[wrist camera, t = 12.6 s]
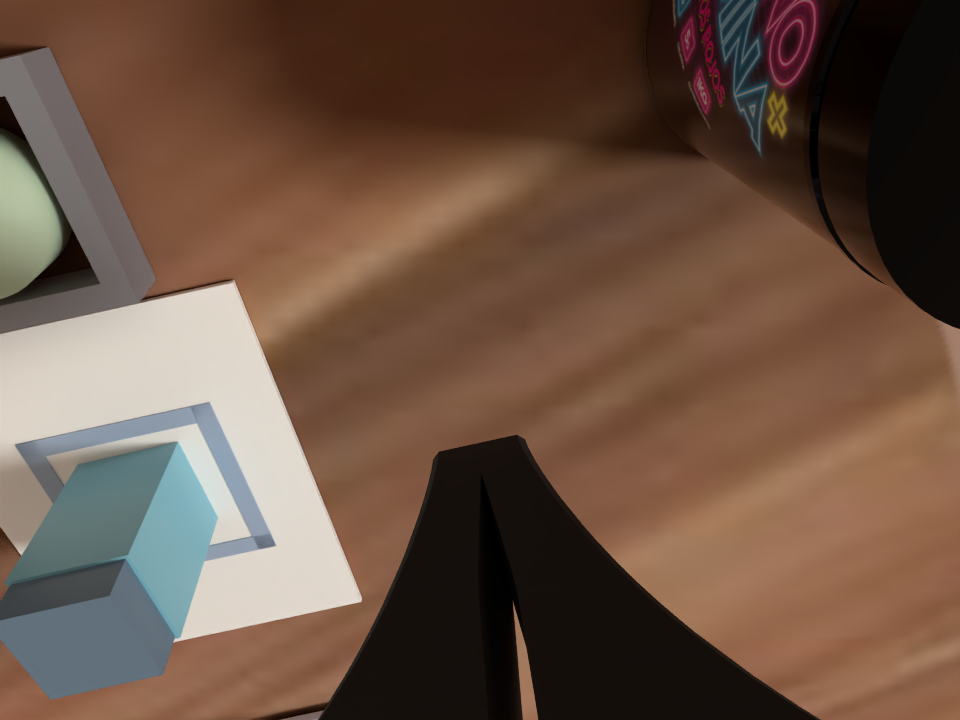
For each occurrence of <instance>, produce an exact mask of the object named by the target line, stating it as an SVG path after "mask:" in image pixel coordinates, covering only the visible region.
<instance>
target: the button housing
mask: <svg viewBox="0 0 960 720" xmlns="http://www.w3.org/2000/svg"><path fill="white" fill-rule="evenodd" d="M3 96H5V97H6V99H7V101H8V103H9V105H10V107H11V109H12V111H13V113H14V115H15V117H16V119H17V121H18V123H19V125H20V126H21V128H22V130H23V132H24V134H25V136H26V138H27V140H28V142H29V144H30V146H31V148H32V150H33V152H34V154H35V156H36V158H37V160H38V162H39V164H40V166H41V168H42V170H43V172H44V174H45V176H46V178H47V180H48V182H49V184H50V186H51V188H52V190H53V191H54V193H55V195H56V197H57V199H58V201H59V203H60V205H61V207H62V209H63V211H64V213H65V215H66V217H67V219H68V221H69V223H70V225H71V227H72V229H73V231H74V233H75V235H76V237H77V239H78V241H79V243H80V245H81V247H82V249H83V251H84V253H85V255H86V256H87V258H88V260H89V262H90V264H91V266H92V268H88V269H83V270H79V271H74V272H70V273H65V274H61V275H56V276H52V277H47V278H43V279H38V280H34V281H32V282H30V283H29V284H28V285H27V286H26V287H25V288H23V289H22V290H20V291H19V292H17V293H15V294H13V295H10V296H8V297H5V298H2V299H0V333H4V332H8V331H13V330H17V329H22V328H26V327H31V326H35V325H40V324H44V323H49V322H53V321H58V320H62V319H67V318H72V317H76V316H81V315H85V314H90V313H94V312H99V311H103V310H108V309H112V308H117V307H121V306H126V305H130V304H135V303H139V302H140V301H141V300H142V298H143V297H144V295H145V294H146V293H147V291H148V290H149V289H150V287H151V286H152V284H153V283H154V282H155V280H156V277H155V275H154V273H153V271H152V269H151V267H150V264H149V262H148V260H147V258H146V256H145V254H144V252H143V249H142V247H141V245H140V243H139V241H138V239H137V236H136V234H135V232H134V230H133V228H132V226H131V223H130V221H129V219H128V217H127V215H126V213H125V210H124V208H123V206H122V204H121V202H120V200H119V197H118V195H117V193H116V191H115V189H114V187H113V184H112V182H111V180H110V178H109V176H108V174H107V172H106V169H105V167H104V165H103V163H102V161H101V159H100V156H99V154H98V152H97V150H96V148H95V146H94V143H93V141H92V139H91V137H90V135H89V133H88V130H87V128H86V126H85V124H84V122H83V120H82V117H81V115H80V113H79V111H78V109H77V107H76V104H75V102H74V100H73V98H72V96H71V94H70V92H69V89H68V87H67V85H66V83H65V81H64V79H63V76H62V74H61V72H60V70H59V68H58V66H57V63H56V61H55V59H54V57H53V55H52V53H51V50H50V48H49V47H46V48H41V49H37V50H32V51H28V52H24V53H19V54H15V55H10V56H6V57H1V58H0V97H3Z"/></svg>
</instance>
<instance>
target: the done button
mask: <svg viewBox="0 0 960 720" xmlns="http://www.w3.org/2000/svg"><path fill="white" fill-rule="evenodd" d="M71 231H72V227H71V225H70V223H69V221H68V219H67V217H66V215H65V213H64V211H63V209H62V207H61V205H60V203H59V201H58V199H57V197H56V195H55V193H54V191H53V190H52V188H51V186H50V184H49V182H48V180H47V178H46V176H45V174H44V172H43V170H42V168H41V166H40V164H39V162H38V160H37V158H36V156H35V154H34V152H33V150H32V148H31V146H30V144H29V143H27V142H26V141H25V140H23V139H22V138H20V137H18V136H17V135H15V134H13V133H11V132H9V131H7V130H5V129H3V128H1V127H0V299H2V298H5V297H8V296H10V295H13V294H15V293H17V292H19V291H20V290H22V289H23V288H25V287H26V286H27V285H28V284H29V283H30V282H32V281H33V280H34V279H35V278H36V277H37V276H38V275H39V274H40V273H41V272H42V271H43V270H45V269H46V268H47V267H48V266H49V265H50V264H51V263H52V262H53V261H54V260H55V259H57V258H58V257H59V256H60V254H61V253H62V252H63V250H64V249H65V247H66V245H67V243H68V241H69V238H70V235H71Z"/></svg>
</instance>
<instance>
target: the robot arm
mask: <svg viewBox="0 0 960 720" xmlns="http://www.w3.org/2000/svg"><path fill="white" fill-rule="evenodd" d="M513 603H514V606H515V610H516V613H517V617H518V620H519V623H520V627H521V630H522V634H523V637H524V641H525V644H526V648H527V653H528V659H529V665H530V671H531V677H532V683H533V689H534V695H535V701H536V708H537V714H538V720H820V719H819V718H817V717H815V716H814V715H812V714H810V713H809V712H807V711H806V710H804V709H802V708H801V707H799V706H798V705H796V704H795V703H793V702H792V701H790V700H789V699H787V698H786V697H784V696H783V695H781V694H780V693H778V692H777V691H775V690H774V689H772V688H771V687H769V686H768V685H766V684H765V683H763V682H762V681H760V680H759V679H757V678H756V677H754V676H753V675H752V674H750V673H749V672H748V671H746V670H745V669H744V668H742V667H741V666H740V665H738V664H737V663H736V662H734V661H733V660H732V659H730V658H729V657H727V656H726V655H725V654H723V653H722V652H721V651H719V650H718V649H717V648H715V647H714V646H713V645H711V644H710V643H709V642H707V641H706V640H705V639H703V638H702V637H701V636H699V635H698V634H697V633H695V632H694V631H693V630H692V629H690V628H689V627H688V626H687V625H685V624H684V623H683V622H682V621H681V620H680V619H678V618H677V617H676V616H675V615H674V614H672V613H671V612H670V611H669V610H668V609H667V608H665V607H664V606H663V605H662V604H661V603H660V602H658V601H657V600H656V599H655V598H654V597H653V596H652V595H651V594H650V593H648V592H647V591H646V590H645V589H644V588H643V587H642V586H641V585H640V584H639V583H638V582H636V581H635V580H634V579H633V578H632V577H631V576H630V575H629V574H628V573H627V572H626V571H625V570H624V569H623V568H622V567H621V566H620V565H619V564H618V563H617V562H616V561H615V560H614V559H613V558H612V557H611V556H610V554H609V553H608V552H607V551H606V550H605V549H604V548H603V547H602V546H601V545H600V544H599V543H598V542H597V541H596V540H595V538H594V537H593V536H592V535H591V534H590V533H589V532H588V530H587V529H586V528H585V527H584V526H583V525H582V524H581V522H580V521H579V520H578V519H577V517H576V516H575V515H574V514H573V512H572V511H571V510H570V509H569V508H568V506H567V505H566V504H565V503H564V501H563V500H562V499H561V498H560V496H559V495H558V494H557V492H556V491H555V490H554V488H553V487H552V485H551V484H550V482H549V481H548V480H547V478H546V477H545V475H544V474H543V472H542V471H541V469H540V467H539V466H538V464H537V463H536V461H535V459H534V457H533V456H532V454H531V452H530V450H529V448H528V446H527V443H526V441H525V439H523V438H522V437H520V436H518V435H514V436H509V437H505V438H500V439H495V440H491V441H486V442H481V443H477V444H472V445H468V446H463V447H458V448H454V449H449V450H445V451H440V452H438V454H437V455H436V456H435V458H434V459H433V464H432V470H431V474H430V478H429V483H428V486H427V490H426V494H425V497H424V500H423V504H422V507H421V510H420V513H419V516H418V519H417V522H416V525H415V527H414V530H413V533H412V536H411V539H410V541H409V544H408V547H407V550H406V552H405V555H404V557H403V560H402V562H401V565H400V567H399V569H398V571H397V574H396V576H395V578H394V581H393V583H392V585H391V587H390V590H389V592H388V594H387V597H386V599H385V601H384V603H383V605H382V608H381V610H380V612H379V614H378V616H377V618H376V620H375V622H374V624H373V626H372V628H371V630H370V632H369V634H368V635H367V637H366V639H365V641H364V643H363V645H362V647H361V648H360V650H359V652H358V654H357V656H356V658H355V659H354V661H353V663H352V665H351V666H350V668H349V670H348V672H347V673H346V675H345V677H344V678H343V680H342V681H341V683H340V685H339V686H338V688H337V690H336V691H335V693H334V695H333V696H332V698H331V699H330V701H329V703H328V704H327V706H326V708H325V709H324V710H323V711H318V712H314V713H309V714H304V715H300V716H295V717H290V718H286V719H281V720H523V717H522V705H521V693H520V681H519V669H518V657H517V645H516V633H515V621H514V610H513Z"/></svg>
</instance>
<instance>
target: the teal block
mask: <svg viewBox="0 0 960 720" xmlns="http://www.w3.org/2000/svg"><path fill="white" fill-rule="evenodd" d="M217 519H218V516H217V514H216V513H215V511H214V509H213V507H212V505H211V503H210V501H209V499H208V497H207V495H206V493H205V492H204V490H203V488H202V486H201V484H200V482H199V480H198V478H197V476H196V474H195V473H194V471H193V469H192V467H191V465H190V463H189V461H188V459H187V457H186V455H185V453H184V452H183V450H182V448H181V446H180V444H179V442H174V443H169V444H165V445H161V446H156V447H152V448H147V449H143V450H139V451H134V452H130V453H125V454H121V455H117V456H112V457H108V458H104V459H99V460H95V461H90V462H86V463H82V464H78V465H77V466H76V468H75V470H74V471H73V473H72V474H71V476H70V478H69V479H68V481H67V483H66V484H65V486H64V487H63V489H62V491H61V492H60V494H59V496H58V497H57V499H56V500H55V502H54V504H53V505H52V507H51V509H50V510H49V512H48V513H47V515H46V517H45V518H44V520H43V522H42V523H41V525H40V526H39V528H38V530H37V531H36V533H35V535H34V536H33V538H32V539H31V541H30V543H29V544H28V546H27V548H26V549H25V551H24V552H23V554H22V556H21V557H20V559H19V560H18V562H17V564H16V565H15V567H14V569H13V570H12V572H11V573H10V575H9V577H8V578H7V580H6V582H5V584H6V585H7V587H8V590H7V592H6V593H5V595H4V597H3V598H2V600H1V601H0V639H1V641H2V642H3V643H4V644H5V645H6V647H7V648H8V649H9V650H10V651H11V653H12V654H13V655H14V656H15V657H16V659H17V660H18V661H19V662H20V663H21V665H22V666H23V667H24V668H25V669H26V671H27V672H28V673H29V674H30V676H31V677H32V678H33V679H34V680H35V682H36V683H37V684H38V685H39V686H40V688H41V689H42V690H43V691H44V692H45V694H46V695H47V696H48V697H49V698H50V700H51V699H56V698H60V697H65V696H69V695H74V694H78V693H83V692H87V691H92V690H96V689H101V688H105V687H110V686H114V685H118V684H123V683H127V682H132V681H136V680H141V679H145V678H150V677H154V676H159V675H163V673H164V670H165V666H166V663H167V660H168V657H169V654H170V651H171V648H172V645H173V642H174V639H177V638H180V637H181V634H182V631H183V628H184V624H185V621H186V618H187V615H188V612H189V609H190V605H191V602H192V599H193V596H194V593H195V589H196V586H197V583H198V580H199V577H200V574H201V570H202V567H203V564H204V561H205V558H206V554H207V551H208V548H209V545H210V542H211V538H212V535H213V532H214V529H215V526H216V523H217Z"/></svg>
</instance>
